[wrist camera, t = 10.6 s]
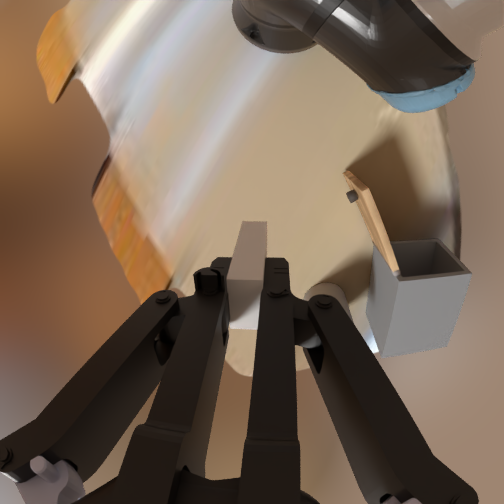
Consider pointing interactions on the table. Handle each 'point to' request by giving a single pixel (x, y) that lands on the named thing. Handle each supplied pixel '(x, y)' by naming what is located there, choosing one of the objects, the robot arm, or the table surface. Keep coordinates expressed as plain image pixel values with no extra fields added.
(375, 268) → the grey open box
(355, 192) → the wooden cabinet door
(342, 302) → the cup
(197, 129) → the table surface
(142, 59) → the table surface
